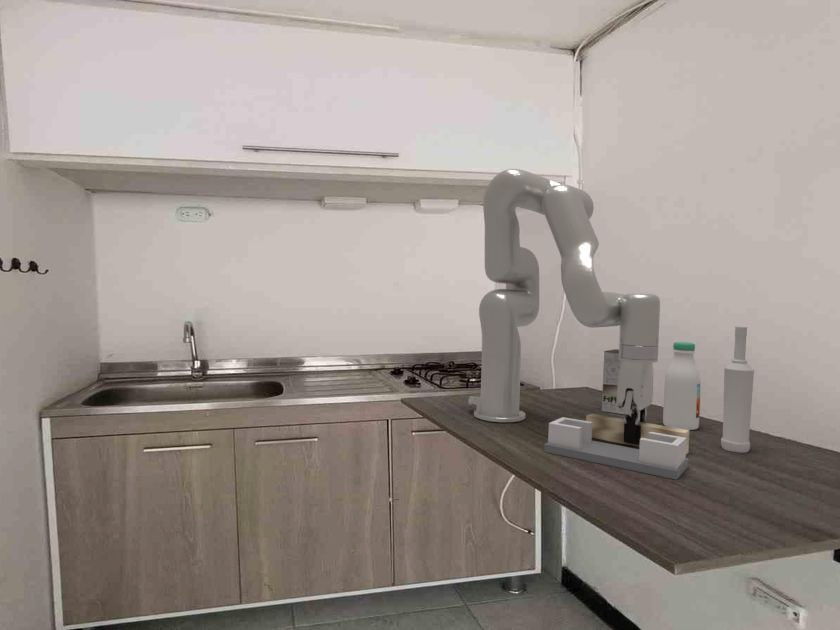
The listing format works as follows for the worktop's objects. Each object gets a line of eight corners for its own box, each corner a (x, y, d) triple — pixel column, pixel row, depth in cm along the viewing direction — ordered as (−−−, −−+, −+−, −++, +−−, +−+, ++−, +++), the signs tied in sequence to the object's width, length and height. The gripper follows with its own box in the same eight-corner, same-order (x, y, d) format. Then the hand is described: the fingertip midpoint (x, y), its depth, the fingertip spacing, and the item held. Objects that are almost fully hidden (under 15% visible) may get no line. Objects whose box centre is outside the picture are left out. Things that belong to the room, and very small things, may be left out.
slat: (585, 436, 119) (586, 415, 119) (591, 433, 121) (592, 413, 121) (684, 455, 106) (685, 433, 106) (688, 452, 108) (689, 430, 108)
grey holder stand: (544, 451, 107) (544, 423, 106) (562, 442, 114) (563, 416, 113) (676, 479, 92) (678, 447, 92) (688, 466, 99) (689, 436, 99)
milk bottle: (690, 432, 124) (694, 345, 123) (656, 425, 130) (660, 342, 129) (704, 427, 129) (708, 343, 128) (671, 421, 135) (674, 340, 134)
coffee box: (626, 415, 140) (628, 353, 140) (601, 411, 144) (603, 351, 143) (635, 409, 148) (637, 350, 147) (611, 406, 152) (613, 348, 151)
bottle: (754, 454, 108) (760, 328, 107) (725, 451, 109) (731, 327, 108) (744, 446, 113) (750, 326, 112) (717, 444, 114) (722, 325, 113)
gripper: (631, 349, 122) (628, 430, 122) (606, 355, 108) (603, 446, 109) (667, 352, 117) (663, 436, 118) (646, 358, 104) (642, 453, 105)
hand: (634, 440), depth 114 cm, fingers closed on slat, 3 cm apart
